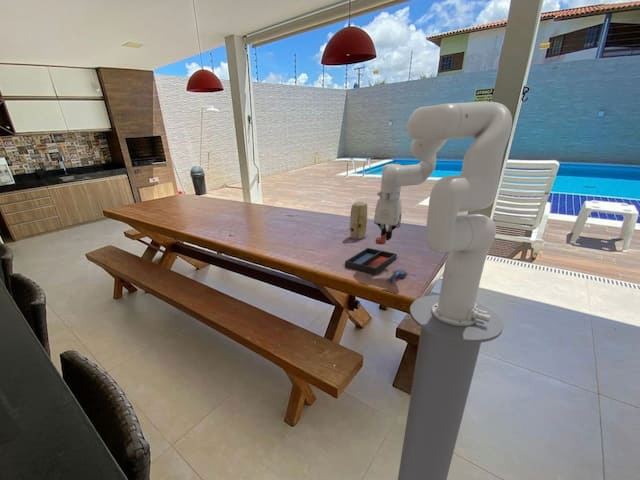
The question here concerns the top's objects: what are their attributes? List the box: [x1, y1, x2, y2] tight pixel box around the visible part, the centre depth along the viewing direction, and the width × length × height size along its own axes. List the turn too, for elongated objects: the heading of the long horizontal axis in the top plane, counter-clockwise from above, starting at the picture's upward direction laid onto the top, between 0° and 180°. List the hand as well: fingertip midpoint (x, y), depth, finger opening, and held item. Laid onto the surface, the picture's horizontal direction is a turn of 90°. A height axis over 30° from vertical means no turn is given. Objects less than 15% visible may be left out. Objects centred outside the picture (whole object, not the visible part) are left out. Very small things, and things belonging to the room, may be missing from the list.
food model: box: [349, 201, 368, 240], centre depth 161 cm, size 10×7×20 cm
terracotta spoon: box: [375, 233, 387, 246], centre depth 130 cm, size 4×11×3 cm, turn 138°
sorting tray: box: [344, 247, 397, 276], centre depth 134 cm, size 14×20×3 cm
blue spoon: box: [389, 269, 407, 285], centre depth 119 cm, size 4×11×3 cm, turn 138°
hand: (386, 238), depth 132 cm, fingers closed on terracotta spoon, 1 cm apart
